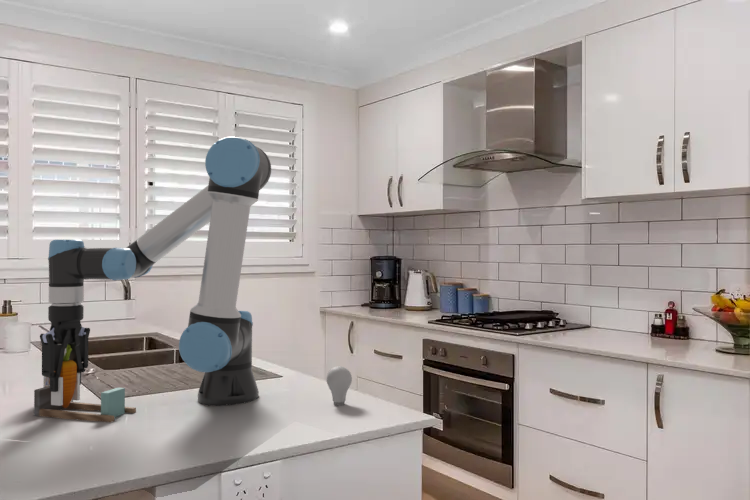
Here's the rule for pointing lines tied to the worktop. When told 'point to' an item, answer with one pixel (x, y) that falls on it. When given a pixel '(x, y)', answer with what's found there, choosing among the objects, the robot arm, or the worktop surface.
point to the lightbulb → (339, 384)
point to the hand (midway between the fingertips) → (65, 402)
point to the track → (47, 410)
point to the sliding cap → (113, 402)
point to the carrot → (68, 377)
